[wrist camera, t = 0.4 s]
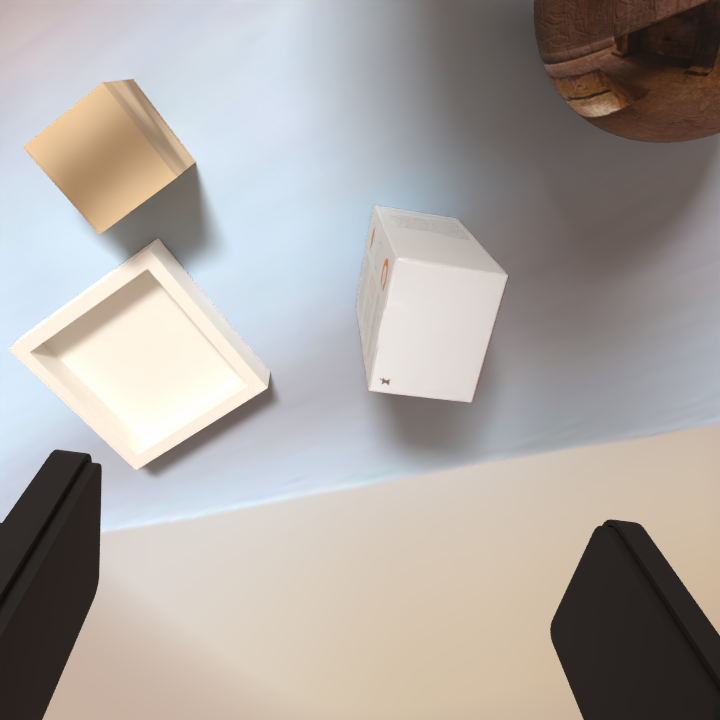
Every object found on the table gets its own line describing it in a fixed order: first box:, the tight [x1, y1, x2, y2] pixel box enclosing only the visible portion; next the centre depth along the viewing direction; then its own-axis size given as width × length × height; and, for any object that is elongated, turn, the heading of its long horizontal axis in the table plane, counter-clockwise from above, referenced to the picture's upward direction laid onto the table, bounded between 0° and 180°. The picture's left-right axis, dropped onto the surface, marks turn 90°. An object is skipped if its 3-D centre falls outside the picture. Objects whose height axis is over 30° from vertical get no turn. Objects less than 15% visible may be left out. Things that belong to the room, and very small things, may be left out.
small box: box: [356, 205, 509, 403], centre depth 39 cm, size 8×6×13 cm
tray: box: [9, 238, 270, 470], centre depth 45 cm, size 13×13×3 cm
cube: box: [23, 79, 195, 234], centre depth 37 cm, size 6×6×6 cm
